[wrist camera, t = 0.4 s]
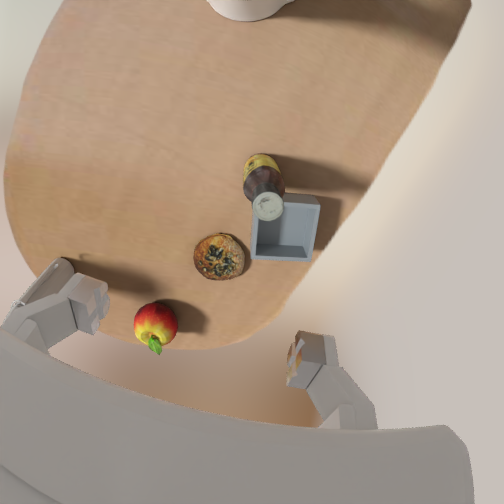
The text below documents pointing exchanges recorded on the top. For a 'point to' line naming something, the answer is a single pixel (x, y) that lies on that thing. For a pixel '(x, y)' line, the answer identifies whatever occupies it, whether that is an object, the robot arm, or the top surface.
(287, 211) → the bin
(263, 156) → the sauce bottle
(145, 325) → the fruit
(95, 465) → the robot arm
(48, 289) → the water bottle
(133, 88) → the top surface
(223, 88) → the top surface
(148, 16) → the top surface
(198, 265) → the bread roll
